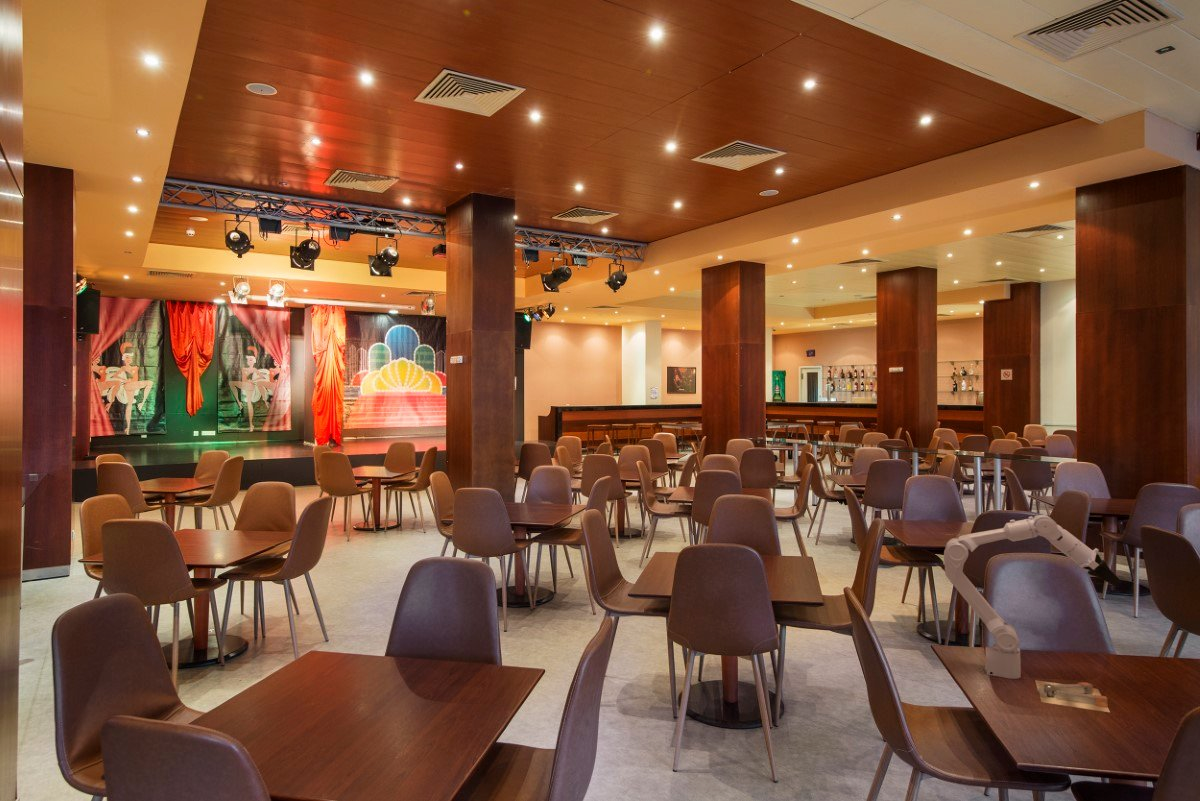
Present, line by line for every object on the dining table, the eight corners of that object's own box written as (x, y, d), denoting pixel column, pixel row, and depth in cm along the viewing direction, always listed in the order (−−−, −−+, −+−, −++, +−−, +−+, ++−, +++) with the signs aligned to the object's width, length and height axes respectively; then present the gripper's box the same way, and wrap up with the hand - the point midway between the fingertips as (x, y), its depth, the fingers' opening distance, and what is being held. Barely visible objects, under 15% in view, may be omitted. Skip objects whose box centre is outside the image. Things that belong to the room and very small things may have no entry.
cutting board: (1041, 706, 191) (1041, 701, 191) (1035, 684, 207) (1035, 680, 207) (1110, 716, 184) (1110, 712, 184) (1098, 693, 200) (1097, 688, 200)
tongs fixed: (1040, 697, 194) (1039, 687, 194) (1038, 691, 198) (1038, 681, 198) (1107, 707, 187) (1107, 696, 187) (1104, 701, 191) (1104, 691, 191)
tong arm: (1053, 694, 196) (1053, 686, 196) (1048, 691, 198) (1048, 683, 198) (1093, 693, 196) (1092, 685, 196) (1087, 690, 199) (1087, 682, 199)
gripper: (1086, 541, 198) (1132, 576, 193) (1078, 534, 211) (1121, 566, 206) (1067, 558, 200) (1112, 594, 195) (1060, 550, 213) (1102, 583, 208)
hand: (1115, 581), depth 200 cm, fingers open, 7 cm apart
